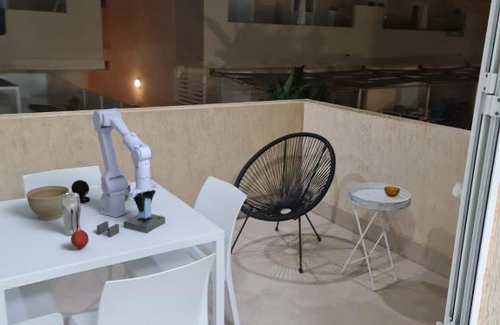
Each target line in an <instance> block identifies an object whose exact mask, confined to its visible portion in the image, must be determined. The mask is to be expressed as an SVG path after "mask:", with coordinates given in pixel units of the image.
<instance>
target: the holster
mask: <svg viewBox="0 0 500 325" xmlns="http://www.w3.org/2000/svg"><path fill="white" fill-rule="evenodd" d="M96 230H97V231H96V232H97V235H102V234H104V233H106V232H107V237H108V238H112V237H114V236H115V235H118V234H120V224H119V223H115V224H112V225H111V226H109V221H104V222H101V223H100V224H97V225H96Z"/></svg>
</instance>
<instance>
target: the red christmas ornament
mask: <svg viewBox="0 0 500 325" xmlns="http://www.w3.org/2000/svg"><path fill="white" fill-rule="evenodd" d="M80 228H81V227H80ZM80 228H78V229H77V231H75V232H74V233H73V235H72V236H70V242H71V245H72V246H73V247H74V248H76V249H78V250H82V249H83V248H85V247H86V246H87V245H88V243H89V241H90V240H89V235H88V234H87V232H86V231H84V230H83V229H80Z"/></svg>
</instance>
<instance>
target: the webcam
mask: <svg viewBox="0 0 500 325" xmlns="http://www.w3.org/2000/svg"><path fill="white" fill-rule="evenodd" d="M70 188H71V193H78V194H79V197H80V203H83V204H87V203H89V202H90V201H91V198H90V197H89V196H87V195H88V194H89V192H90V186H89V184H88V183H87V181H85V180H82V179H78V180H76V181H73V182H72V184H71V186H70ZM86 202H87V203H86Z"/></svg>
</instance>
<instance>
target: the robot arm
mask: <svg viewBox="0 0 500 325" xmlns="http://www.w3.org/2000/svg"><path fill="white" fill-rule="evenodd" d="M91 118H92V122H93V127H94V131H95V132H96V133H97V137H98V138H97V139H98V142H99V146H100V151H101V155H102V161H103V165H104V168H105V170H104V171H105V172H104V173H103V174H102V176H101V177H100V181H101V183H100V185H101V186H100V188H101V191H102V192H103V193H102V194H101V198H100V208H101V211H100V214H101V215H106V216H110V217H115V218H119V217H121V216H124V215H126V214H127V213H130V210H129V209H126V201H125V193H127V192H126V191H127V190H128V188H129V180H128V179H127V176H126V174H125V172H124V171H122V170H120V169H119V165H118V160H117V156H116V151H115V147H114V142H113V137H112V133H111V132H112V130H113V129H114V130H115V131H116V132H117V133H118V134H119V136H121V137H122V143H123V144H124V145H125V147H126V148H127V149H128V150H129V151H130V157H131V159H132V162H133V163H132V164H133V166H134V175H135V179H134V180H135V187H134V188H133V189H132V190H131V191H129V193H128V195H129V196H128V197H129V198H132V199H133V201H134V202H135V204H136V208H137V211H140V212H143V211H144V202H145V198H149V199H151V203H152V201H153V198H154V196H155V194H156V190H154V189H156V188H158V184H157V182H153V181H152V180H151V178H152V177H151V161H150V160H151V159H152V158H153V156H154V153H153V149H152V147H151V145H149V144H146V143H144V142H143V141H142V140H141V139H140V138H139V136H138V135H137V134H136V133H135V132H132V131H130V129H129V128H128V127H127V125H126V123H125V122H124V121H123V119H122V118H123V117H122V113H121V112H120V110H119V108H118V107H113V108H107V109H95V110H94V111H93V113H92V116H91Z"/></svg>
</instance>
